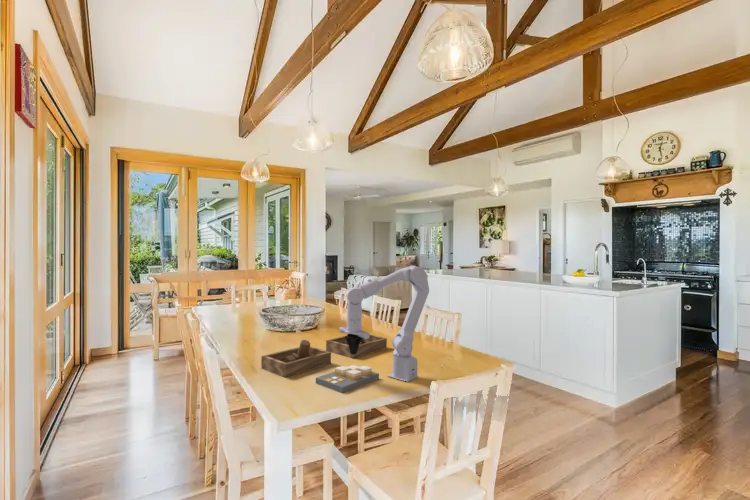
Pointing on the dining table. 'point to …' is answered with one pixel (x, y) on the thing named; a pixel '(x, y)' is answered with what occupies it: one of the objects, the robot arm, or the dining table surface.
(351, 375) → the button
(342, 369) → the button
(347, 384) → the board
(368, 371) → the button
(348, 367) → the button
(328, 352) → the trays
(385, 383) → the dining table surface
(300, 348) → the wooden block set
